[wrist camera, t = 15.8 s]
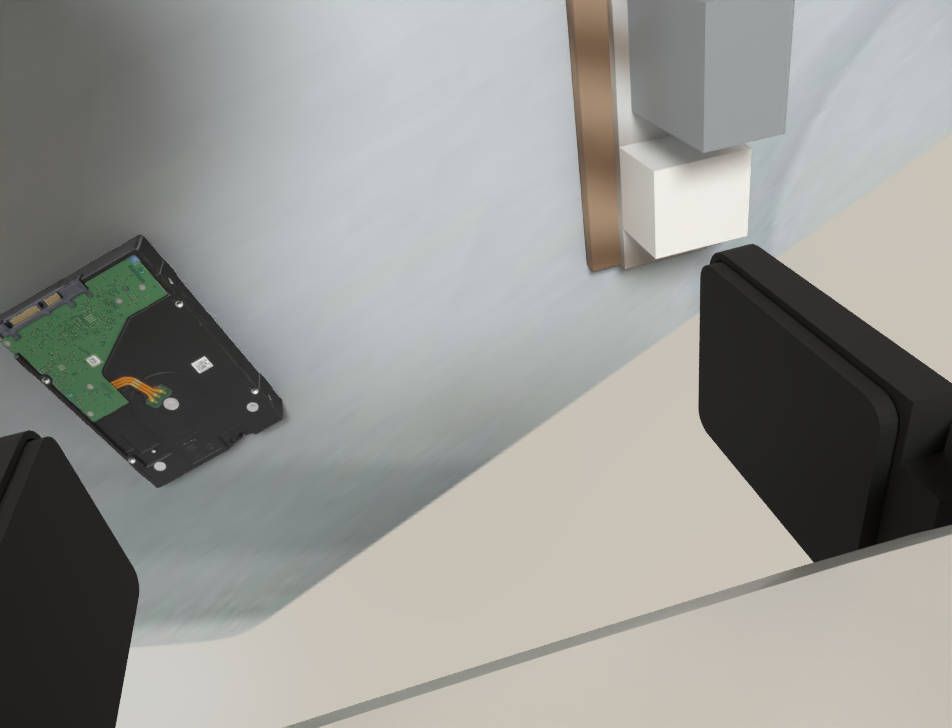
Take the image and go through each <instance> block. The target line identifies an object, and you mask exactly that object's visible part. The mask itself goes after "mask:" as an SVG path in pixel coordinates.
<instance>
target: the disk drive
mask: <svg viewBox="0 0 952 728" xmlns="http://www.w3.org/2000/svg"><path fill="white" fill-rule="evenodd" d="M0 337H1V338H2V339H3V340H1V342H2V343H3V345H4V346H5V347H7V348H8V349H9V350H10V351H11V352H12V353H14V354H15V356H14V357H15V359H16V360H18V362H19V363H20V364H21V365H22V366H23V367H25V368H26V369H27V370H28V371H29V372H31V373H32V374H33V375H34V376H35V377H37V379H39V380H40V381H42V383H43V384H45V385H46V387H47V388H48V389H49V390H51V392H53V393H54V394H55V395H56V396H57V397H58V398H59V399H60V400H61V401H62V402H63V403H65V405H67V407H69V408H70V409H71V410H72V411H73V412H74V413H76V415H77V416H79V417H80V418H81V419H82V420H83V421H84V422H85V423H86V424H87V425H89V426H90V427H91V428H92V429H93V430H94V431H95V432H96V433H97V434H98V435H99V436H101V437H102V439H104V440H105V441H106V442H107V443H108V444H109V445H110V446H111V447H113V448H114V449H115V450H116V451H117V452H118V453H119V454H120V455H121V456H122V457H123V458H124V459H126V460H127V461H128V462H129V464H130V465H132V467H133V468H134V469H135V470H136V471H138V472H139V473H140V474H141V475H142V476H143V477H145V478H146V479H147V480H148V481H149V482H151V483H152V484H153V485H154V486H155V487H157V488H159V487H162V486H164V485H165V484H167V483H169V482H171V481H173V480H174V479H176V478H178V477H180V476H182V475H183V474H184V473H187V472H188V471H190V470H192V469H194V468H196V467H197V466H199V465H201V464H203V463H204V462H207V461H209V460H210V459H213V458H214V457H215V456H217V455H220V454H221V453H223V452H225V451H227V450H229V448H230V447H231V446H233V444H234V443H236V442H237V441H238V440H239V439H241V438H242V437H243V433H245V434H246V435H248V434H252V433H254V434H257V433H259V432H261V431H263V430H264V429H266V428H268V427H270V426H271V425H273V424H275V423H277V422H279V421H281V419H282V411H283V410H282V399H281V398H279V397H278V395H277V394H276V393H275V391H274V390H273V389H272V387H271V386H270V384H269V383H268V382H267V381H266V379H265V378H264V377H263V376H262V375H261V374H260V373H258V372H257V370H256V369H255V368H254V367H253V366H252V364H251V363H250V362H249V361H248V360H247V359H246V357H245V356H244V355H243V354H242V353H241V351H240V350H239V349H238V348H237V347H236V346H235V344H234V343H233V342H232V341H231V340H230V338H229V337H228V336H227V335H226V334H225V333H224V331H223V330H222V329H221V328H220V327H219V325H218V324H217V323H216V322H215V321H214V320H213V318H212V317H211V315H209V313H207V311H205V309H204V308H203V306H202V305H201V304H200V303H199V302H198V301H197V300H196V298H195V297H194V296H193V295H192V294H191V292H190V291H189V290H188V289H187V287H186V286H185V285H184V284H183V283H182V282H181V280H180V279H179V278H178V277H177V275H176V273H175V272H174V270H173V269H172V268H171V267H170V266H169V264H168V263H167V262H166V261H165V260H164V259H162V258H161V256H160V255H159V254H158V253H157V252H156V250H155V249H154V248H153V247H152V246H151V244H150V243H149V242H148V241H147V240H146V239H145V237H144V236H142V235H138V236H136V237H135V238H133V239H131V240H129V241H128V242H126V243H125V244H123V245H121V246H120V247H118V248H116V249H114V250H112V251H111V252H109V253H107V254H105V255H104V256H102V257H100V258H98V259H97V260H95V261H93V262H91V263H90V264H88V265H86V266H84V267H83V268H81V269H79V270H78V271H77V272H75V273H74V274H72V275H70V276H68V277H67V278H65V279H63V280H60V281H59V282H57V283H55V284H53V285H52V286H50V287H48V288H46V289H45V290H43V291H41V292H40V293H38V294H36V295H35V296H33V297H31V298H29V299H28V300H26V301H24V302H23V303H21V304H19V305H17V306H16V307H14V308H12V309H10V310H9V311H7V312H5V313H3V314H2V315H1V316H0Z"/></svg>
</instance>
